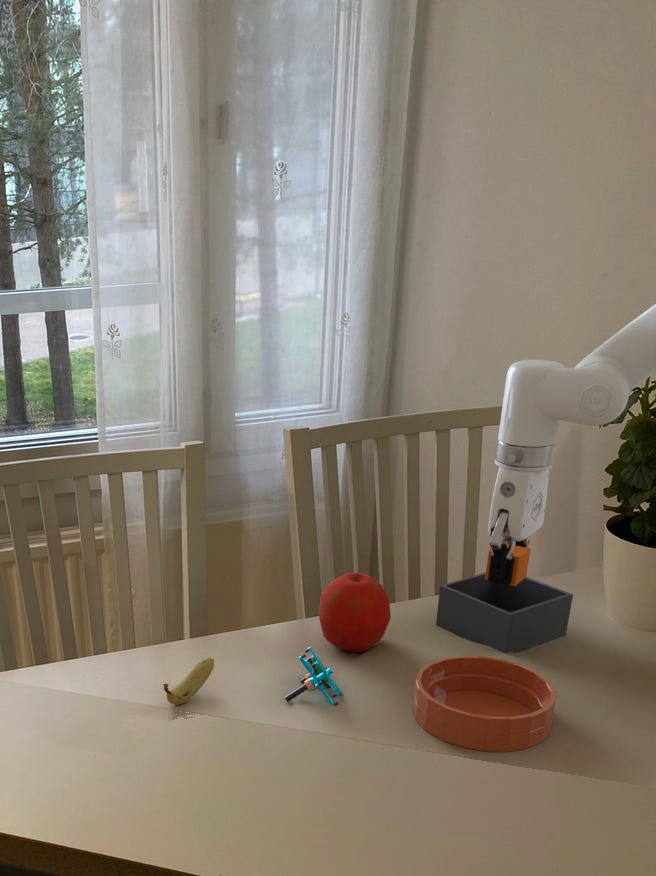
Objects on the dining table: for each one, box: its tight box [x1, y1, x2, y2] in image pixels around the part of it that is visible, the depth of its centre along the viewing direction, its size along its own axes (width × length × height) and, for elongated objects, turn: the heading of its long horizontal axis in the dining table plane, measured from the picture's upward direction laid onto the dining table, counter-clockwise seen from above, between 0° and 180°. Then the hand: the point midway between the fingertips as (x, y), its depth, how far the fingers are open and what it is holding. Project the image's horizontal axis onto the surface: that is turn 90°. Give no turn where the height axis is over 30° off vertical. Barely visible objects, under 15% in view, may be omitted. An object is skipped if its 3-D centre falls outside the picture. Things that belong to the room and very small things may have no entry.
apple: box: [318, 572, 391, 653], centre depth 131 cm, size 10×10×12 cm
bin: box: [435, 571, 574, 654], centre depth 135 cm, size 13×13×6 cm
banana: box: [163, 657, 215, 706], centre depth 119 cm, size 10×2×4 cm, turn 141°
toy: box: [485, 542, 532, 586], centre depth 132 cm, size 4×4×4 cm
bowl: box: [412, 655, 557, 753], centre depth 112 cm, size 16×16×5 cm
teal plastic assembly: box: [284, 646, 345, 706], centre depth 120 cm, size 12×7×8 cm
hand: (506, 576), depth 133 cm, fingers closed on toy, 4 cm apart
